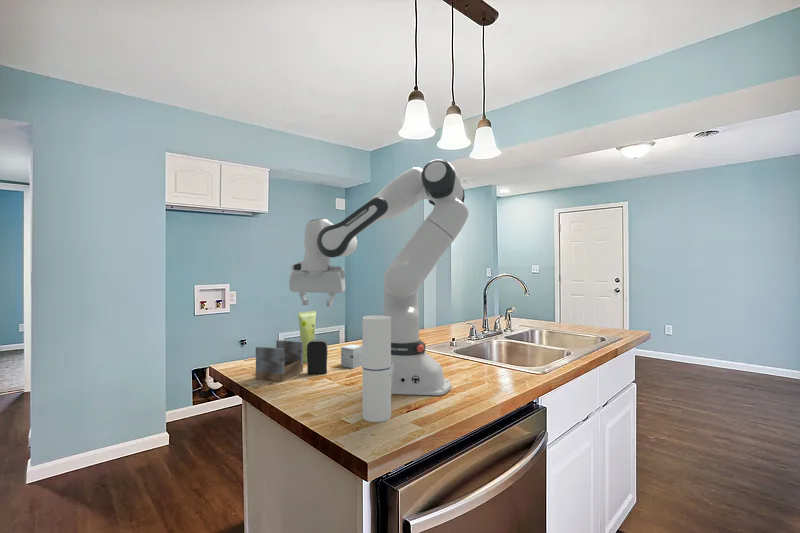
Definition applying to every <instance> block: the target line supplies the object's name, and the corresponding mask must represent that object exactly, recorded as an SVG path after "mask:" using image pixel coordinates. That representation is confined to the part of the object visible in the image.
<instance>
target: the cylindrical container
mask: <svg viewBox="0 0 800 533" xmlns="http://www.w3.org/2000/svg"><path fill="white" fill-rule="evenodd" d="M361 320H362V323H361V324H362V325H361V326H362V327H361V330H362V332H361V333H362V334H361V335H362V338H361V339H362V342H361V346H362V363H363V365H362V418H363V420H365V421H367V422H369V423H383V422H386V421H388V420H390V419H391V417H392V394H391V317H390V316H384V314H383V315H381V314H378V315H377V314H376V315H375V314H373V315H364V316H362V319H361Z"/></svg>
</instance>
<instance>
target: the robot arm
mask: <svg viewBox="0 0 800 533" xmlns="http://www.w3.org/2000/svg"><path fill="white" fill-rule="evenodd" d="M465 198H466V196H465V189H464V188H463V185H462V182H461V178H460V177H459V175H458V174H457V172H456V170H455V168H454V166H453V165H452V164H451V163H450V162H448V161H447V160H445V159H442V158H436V159H432V160H430V161H428V163H426V164H425V165H424V167H423V168H421V167H419V166H418V167H417V166H416V167H415V166H414V167H411V168H410V169H407V170H405V171H403V173H401V174H399V175H398V176H396V177H395V178H394V179H392V180H391V181H390V182H388V183H387V184H386V185H385V186H384V187H382V189H381V190H380V191H378V193H376V194H375V195H374V196H373V197H372V198H371V199H370V200H368V201H367V202H366V203H364V205H361V207H359V208H358V209H357V210H356V211H354V212H353V213H351V214H350V215H348V216H347V217H345V218H344V219H343V220H342V221H340V222H338V223H335V224H334V223H333V222H331V221H329V219H327V218H316V219H315V218H314V219H312V220H309V221H308V222H307V223H306V225H305V229H304V245H303V246H304V248H305V251H304V252H305V253H304V256H303V258H304V260H302V261H300V262H296V263H294V264H292V265H290V270H291V271H292V272H291V273H290V275H289V285H288V286H289V290H290V292H291V293H292V292H293V293H298V296H299V297H300V300H301V305H302V306H308V305H309V299H307V298H306V293H315V294H316V293H319V294H321V293H323V294H326V293H327V294H329V295H328V296H329V300H326V307H333V301H334V300H335V298H336V295H337V294H342V293H343V294H344V292H345V291H346V281H345V280H346V279H345V276H346V275H345V274H346V271H345V269H344V268H343V267H342V266H341V265H337V266H335V265H331V258H337V257H338V258H339V257H348V256H351V255H352V254H353V253H355V251H356V250H357V248H358V238H357V236H358V235H359V234H360V233H362V232H363V231H364V230H366V229H367V228H368V227H370V226H371V225H372V224H373V225H374V223H377V222H380V221H384V220H393V219H396V218H398V217H400V216H401V215H403V214H405V213H407V211H409V210H410V209H411V208H412V207H414V206H415V205H417V203H420V202H421V201H422V200H428V203H429V204H430V205H433V206H434V207H433V209H432V210H431V212H430V213H429V215H428V216H426V217H427V218H425V219H424V221H423V222H422V223H421V225H420V226H419V227H418V228H417V230H416V231H415V232H414V233H413V235H412V236H411V237H410V239H409V240H408V241H407V242H406V244H405V245H404V246H403V248H402V249H401V250H400V251H399V253H398V254H397V256H396V257H395V258H394V259H393V260H392V262H391V263H390V264H389V265H388V266H387V268H386V270H385V272H384V273H383V274H384V275H383V289H384V290H383V291H384V292H383V293H384V294H383V295H384V296H383V316H390V317H391V395H414V396H442V395H445V394H447V393H448V392H449V391H450V390H451V388H452V382H451V381H450V379H448V378H445V377H444V375H445V374H444V370H443V367H442V365H441V364H440V362H438V361H437V360H435V359H434V358H433V357H432V356H430V355H429V354H428V353H427V352H426V346H427V345H426V344H427V343H426V341H424V342H423V341H422V340H421V339H420V309H419V288H420V287H421V286H422V284H423V283H424V282H425V280H426V278H427V277H428V275H429V274H430V273H431V272H432V270H433V269H434V267H435V266H436V264H437V262H438V261H439V260H440V259H441V257H443V255H444V253H445V252H446V251H447V250H448V248H450V246H451V245H452V244H453V242H454V241H455V239H456V238H457V236H458V235H459V234H460V232H461V231H462V229H463V227H464V226H465V224H466V222H467V219H468V217H469V209H468V207H467V206H466V204H465Z"/></svg>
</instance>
